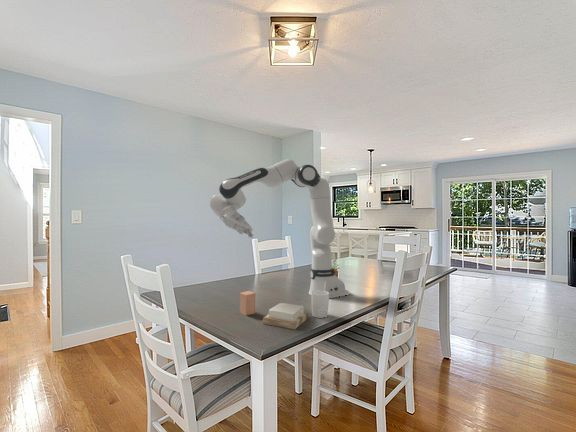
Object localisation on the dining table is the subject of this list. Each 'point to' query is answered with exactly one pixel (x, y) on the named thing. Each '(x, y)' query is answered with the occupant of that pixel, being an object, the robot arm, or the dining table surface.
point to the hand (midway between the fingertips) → (247, 235)
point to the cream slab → (286, 311)
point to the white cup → (320, 303)
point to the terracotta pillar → (247, 303)
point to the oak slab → (285, 323)
